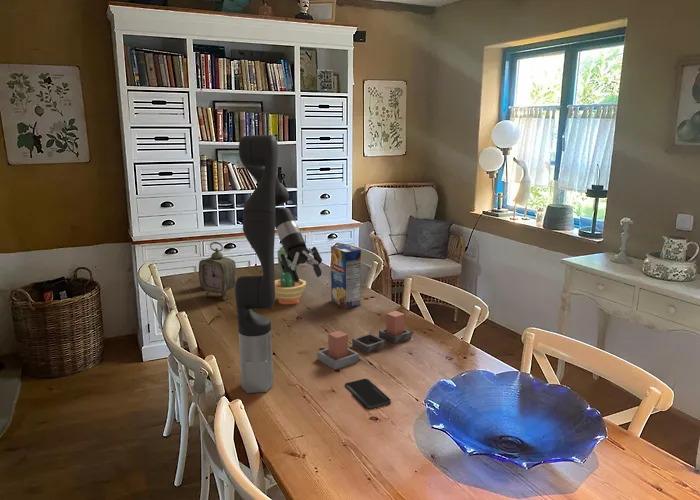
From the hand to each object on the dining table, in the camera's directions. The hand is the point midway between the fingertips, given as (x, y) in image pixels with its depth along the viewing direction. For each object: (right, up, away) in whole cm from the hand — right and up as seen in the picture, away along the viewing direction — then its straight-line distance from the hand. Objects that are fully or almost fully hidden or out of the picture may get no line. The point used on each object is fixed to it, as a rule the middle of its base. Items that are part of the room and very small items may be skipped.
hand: (308, 278), depth 178 cm
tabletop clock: (-44, -11, +58) cm, 73 cm away
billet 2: (+30, -21, +9) cm, 38 cm away
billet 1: (+10, -26, -6) cm, 28 cm away
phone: (+19, -32, -27) cm, 46 cm away
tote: (+10, -26, -6) cm, 29 cm away
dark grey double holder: (+25, -24, +6) cm, 35 cm away
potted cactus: (-13, -13, +52) cm, 55 cm away
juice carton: (+12, -13, +50) cm, 53 cm away
